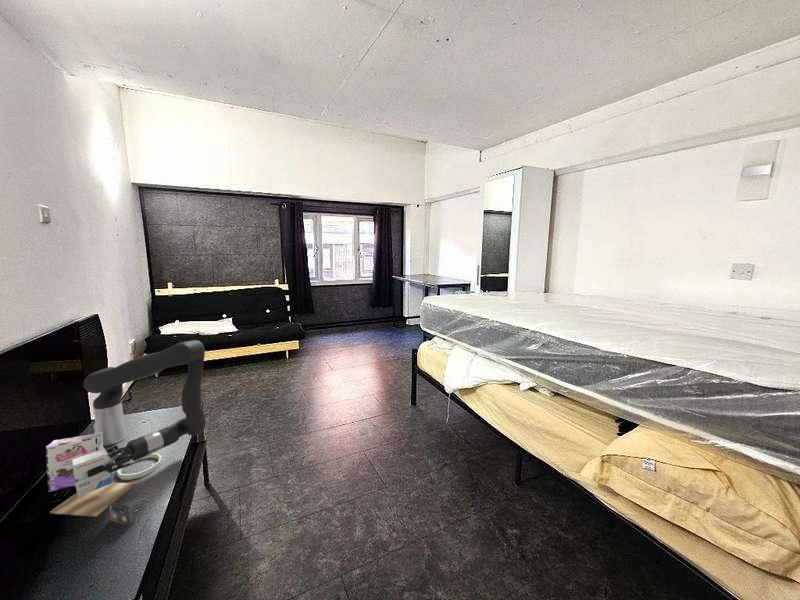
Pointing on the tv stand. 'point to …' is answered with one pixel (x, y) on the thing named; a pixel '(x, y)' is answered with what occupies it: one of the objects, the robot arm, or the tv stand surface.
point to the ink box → (88, 463)
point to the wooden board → (92, 500)
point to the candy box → (68, 458)
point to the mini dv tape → (121, 513)
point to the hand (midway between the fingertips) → (85, 470)
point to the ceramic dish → (143, 473)
